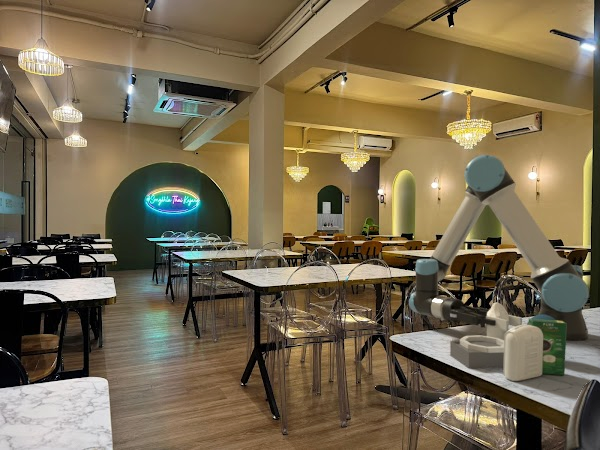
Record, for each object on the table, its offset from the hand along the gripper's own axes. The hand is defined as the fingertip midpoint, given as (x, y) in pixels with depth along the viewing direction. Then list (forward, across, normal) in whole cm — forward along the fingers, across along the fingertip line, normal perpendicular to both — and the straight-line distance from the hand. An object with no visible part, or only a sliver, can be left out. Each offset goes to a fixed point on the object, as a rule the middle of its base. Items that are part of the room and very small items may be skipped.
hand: (514, 323), depth 119 cm
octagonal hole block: (0, +13, -8) cm, 15 cm away
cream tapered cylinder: (-5, 0, -7) cm, 9 cm away
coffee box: (+13, +7, -9) cm, 17 cm away
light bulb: (+7, -2, -9) cm, 11 cm away
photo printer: (+12, +15, -8) cm, 21 cm away
